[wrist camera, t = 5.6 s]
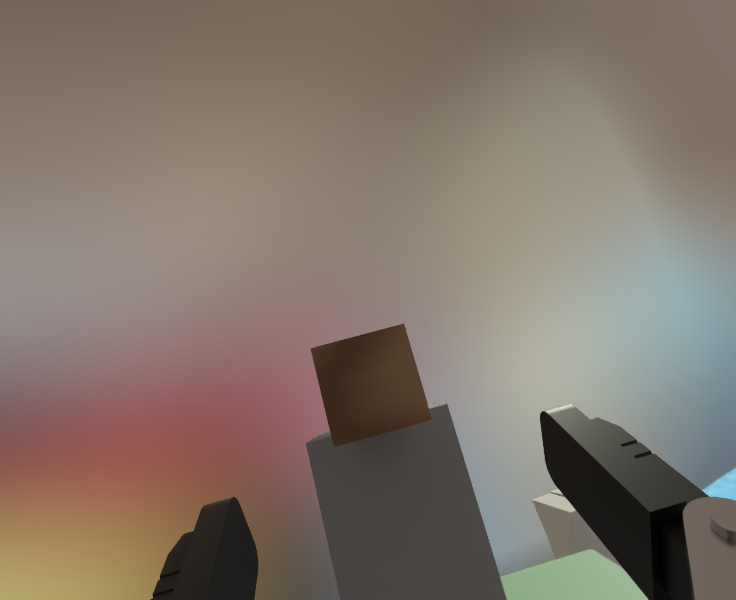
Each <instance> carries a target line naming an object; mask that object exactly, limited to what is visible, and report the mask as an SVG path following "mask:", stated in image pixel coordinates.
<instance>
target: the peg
mask: <svg viewBox="0 0 736 600" xmlns="http://www.w3.org/2000/svg"><path fill="white" fill-rule="evenodd" d="M311 352H312V356H313V361H314V365H315V369H316V373H317V378H318V381H319V386H320V390H321V394H322V398H323V403H324V407H325V411H326V416H327V420H328V424H329V428H330V433H331V437H332V441H333V445H334V447H337V446H341V445H344V444H348V443H351V442H355V441H358V440H362V439H366V438H369V437H373V436H376V435H380V434H383V433H387V432H390V431H394V430H397V429H401V428H405V427H408V426H412V425H415V424H419V423H422V422H426V421H429V420H432V417H431V414H430V411H429V407H428V404H427V400H426V397H425V394H424V390H423V387H422V383H421V380H420V377H419V373H418V370H417V367H416V363H415V360H414V356H413V353H412V350H411V346H410V343H409V339H408V336H407V333H406V329H405V326H404V324H401V325H397V326H393V327H389V328H386V329H382V330H378V331H375V332H371V333H367V334H363V335H360V336H356V337H352V338H348V339H344V340H340V341H337V342H333V343H329V344H325V345H322V346H318V347H315V348H311Z"/></svg>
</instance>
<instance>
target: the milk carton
mask: <svg viewBox="0 0 736 600" xmlns="http://www.w3.org/2000/svg"><path fill="white" fill-rule="evenodd" d="M532 501H533V503H534V506H535V508H536V510H537V513H538V515H539V518H540V520H541V522H542V525H543V527H544V530H545V532H546V535H547V537H548V539H549V542H550V545H551V548H552V551H553V554H554V557H555V560H556V559H559V558H563V557H566V556H569V555H572V554H576V553H579V552H582V551H585V550H588V549H591V550H595V551H597V552H598V553H600V554H601V555H603V556H604V557H606V558H608V559H609V560H611V561H612V562H614V563H616V564H617V565H619V566H620V567H622V566H621V565H620V564H619V563H618V562H617V560H616V559H615V558H614V557H613V555H612V554H611V553H610V552H609V550H608V549H607V548H606V547H605V545H604V544H603V543H602V542H601V541H600V539H599V538H598V537H597V536H596V534H595V533H594V532H593V531H592V529H591V528H590V527H589V526H588V525H587V523H586V522H585V521H584V520H583V518H582V517H581V516H580V515H579V513H578V512H577V511H576V510H575V509H574V507H573V506H572V505H571V504H570V502H569V501H568V500H567V499H566V497H565V496H564V495H563V494H562V493H561V491H560V490H559V489H556V490H553V491H551V492H550V494H547V495H545V496H541V497H539V498H536V499H533V500H532Z"/></svg>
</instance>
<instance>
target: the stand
mask: <svg viewBox="0 0 736 600" xmlns="http://www.w3.org/2000/svg"><path fill="white" fill-rule="evenodd" d="M428 407H429V411H430V414H431V417H432V420H429V421H426V422H422V423H419V424H415V425H412V426H408V427H405V428H401V429H397V430H394V431H390V432H387V433H383V434H380V435H376V436H373V437H369V438H366V439H362V440H358V441H355V442H351V443H348V444H344V445H341V446H337V447H334V445H333V441H332V437H331V433H330V431H329V432H325V433H322V434H321V435H319V436H317V437H316V438H314V439H312V440H311V441H309V442H307V443H306V446H307V451H308V455H309V460H310V464H311V468H312V473H313V478H314V482H315V486H316V491H317V496H318V500H319V505H320V510H321V514H322V519H323V523H324V528H325V532H326V537H327V541H328V546H329V550H330V555H331V559H332V564H333V568H334V573H335V578H336V582H337V587H338V591H339V596H340V600H648V598H647V597H646V596H645V595H644V594H643V592H642V591H641V590H640V589H639V587H638V586H637V585H636V584H635V582H634V581H633V580H632V579H631V578H630V576H629V575H628V574H627V573H626V571H625V570H624V569H623V568H622V567H620V566H619V565H617V564H616V563H614V562H612V561H611V560H609V559H608V558H606V557H604V556H603V555H601V554H600V553H598V552H597V551H595V550H591V549H588V550H585V551H582V552H579V553H576V554H572V555H569V556H566V557H563V558H559V559H556V560H553V561H550V562H547V563H543V564H540V565H537V566H534V567H531V568H527V569H524V570H521V571H518V572H514V573H511V574H508V575H505V576H502V577H500V575H499V572H498V569H497V566H496V562H495V559H494V556H493V553H492V549H491V546H490V543H489V539H488V536H487V533H486V530H485V527H484V523H483V520H482V516H481V513H480V510H479V507H478V503H477V501H476V497H475V494H474V491H473V487H472V484H471V480H470V477H469V474H468V471H467V468H466V464H465V461H464V458H463V454H462V451H461V448H460V444H459V441H458V438H457V435H456V431H455V428H454V425H453V421H452V418H451V415H450V412H449V409H448V405H447V404H428Z"/></svg>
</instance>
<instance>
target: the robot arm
mask: <svg viewBox="0 0 736 600" xmlns="http://www.w3.org/2000/svg"><path fill="white" fill-rule="evenodd" d="M540 422H541V430H542V439H543V446H544V454H545V461H546V466H547V469H548V472H549V474H550V476H551V478H552V480H553V482H554V483H555V485H556V486H557V487H558V489H559V490H560V491H561V493H562V494H563V495H564V496H565V497H566V499H567V500H568V501H569V502H570V504H571V505H572V506H573V507H574V509H575V510H576V511H577V512H578V513H579V515H580V516H581V517H582V518H583V520H584V521H585V522H586V523H587V525H588V526H589V527H590V528H591V529H592V531H593V532H594V533H595V534H596V536H597V537H598V538H599V539H600V541H601V542H602V543H603V544H604V545H605V547H606V548H607V549H608V550H609V552H610V553H611V554H612V555H613V557H614V558H615V559H616V560H617V562H618V563H619V564H620V565H621V566H622V568H623V569H624V570H625V571H626V573H627V574H628V575H629V576H630V578H631V579H632V580H633V581H634V582H635V584H636V585H637V586H638V587H639V589H640V590H641V591H642V592H643V594H644V595H645V596H646V597H647V598H648V600H736V501H735V500H731V499H726V498H720V497H709V496H708V495H706V494H705V493H704V492H703V491H701V490H700V489H699V488H697V487H696V486H695V485H694V484H692V483H691V482H690V481H688V480H687V479H686V478H685V477H684V476H682V475H681V474H680V473H678V472H677V471H676V470H675V469H673V468H672V467H671V466H669V465H668V464H667V463H666V462H664V461H663V460H662V459H661V458H659V457H658V456H657V455H655V454H652V453H651V451H650V450H649V449H648V448H647V447H645V446H644V445H643V444H641V443H640V442H639V443H638V442H637V440H636V439H635V438H634V437H632V436H631V435H630V434H629V433H627V432H626V431H625V430H624V429H622V428H621V427H619V426H617V425H615V424H612V423H610V422H608V421H605V420H603V419H600V418H595V419H591V420H590V419H589V418H588V417H587V416H585V415H584V414H583V413H582V412H581V411H579V410H578V409H577V408H576V407H575V406H573V405H571V404H567V405H564V406H560V407H557V408H553V409H550V410H546V411H542V412H541V414H540ZM257 575H258V556H257V550H256V546H255V542H254V540H253V537H252V535H251V532H250V530H249V527H248V524H247V522H246V519H245V517H244V514H243V512H242V509H241V506H240V504H239V502H238V500H237V499H236V498H235V497H233V498H229V499H225V500H222V501H218V502H214V503H211V504H207V505H204V506H203V507H202V509H201V512H200V514H199V517H198V520H197V523H196V526H195V529H194V531H193V532H189V533H186V534H184V535H183V536H182V537H181V538H180V540H179V541H178V542H177V544H176V545H175V546H174V548H173V549H172V551H171V552H170V553H169V554H168V556H167V559H166V562H165V564H164V567H163V569H162V572H161V574H160V580H159V581H158V582H157V585H156V587H155V590H154V592H153V599H151V600H254V597H255V589H256V582H257Z"/></svg>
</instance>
